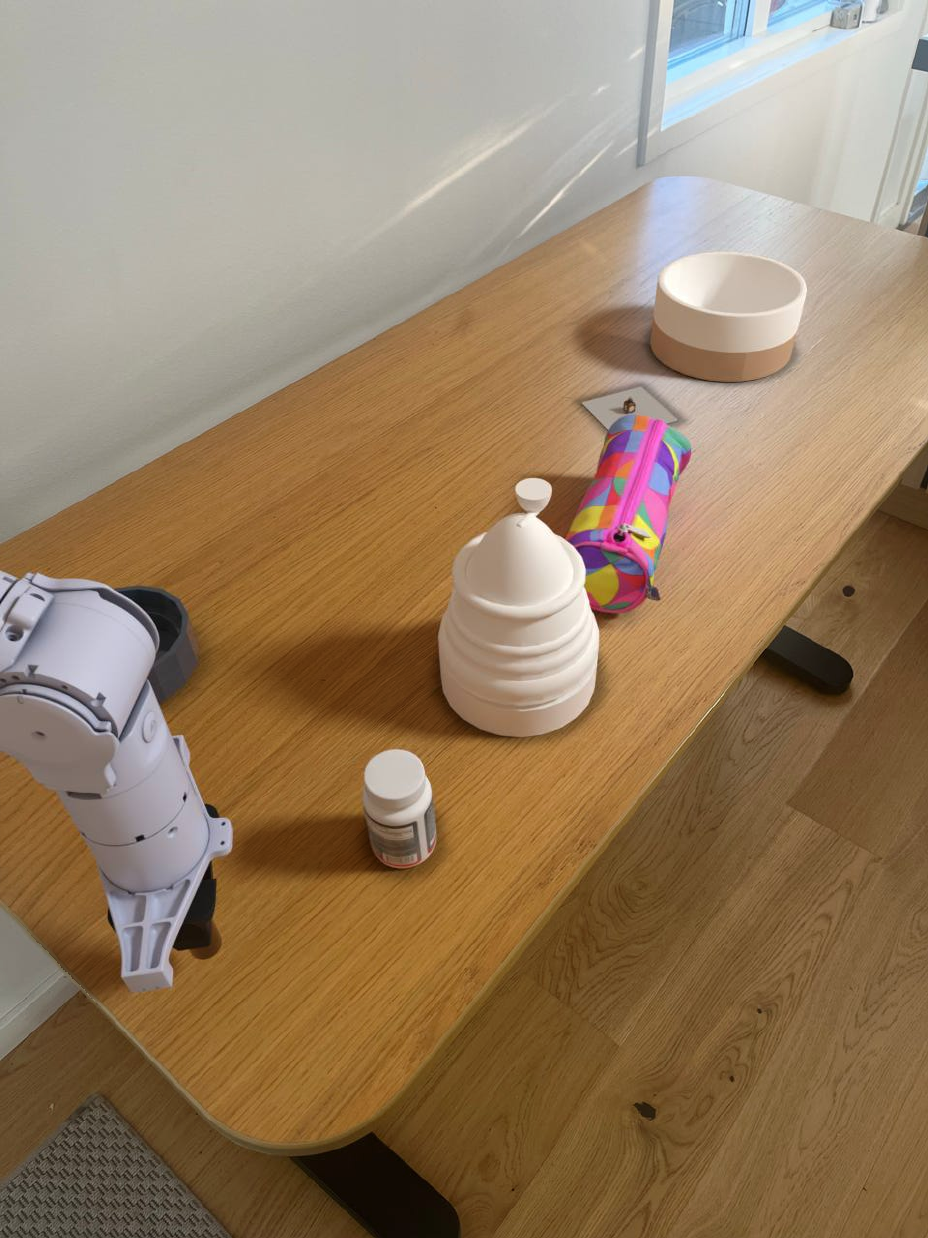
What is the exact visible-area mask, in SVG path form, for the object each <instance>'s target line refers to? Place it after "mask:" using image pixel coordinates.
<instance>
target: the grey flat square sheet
mask: <svg viewBox="0 0 928 1238" xmlns="http://www.w3.org/2000/svg"><path fill="white" fill-rule="evenodd" d="M581 405H582V406H584V408H585V409H587V410H588V411H589V412H590V414H591V415H593V416H594V418H596V419H597V420H598V422H599V423H601V425H602V426H603V427H604V428H605V429H606V430H607V431H608V430H609V428H610V427H611V426H612V424H613V423H614V422H615V421H616V420H618V419H619V418H621V417H623V416H626V415H642V416H648V417H650V418H652V419H654V420H657V419H659V420H662V421H663V423H665V424H667V425H668V424H670V423H674V422H678V421H679V419H678V418H676V417H675V416H674V414H672V413H671V412H670V411H669V410H667V408H665V406H664V405H662V404H661V403H660V402H659V401H658V400H657V399H655V398H654V397H653V396H652V395H651V394H650V393H649V392H648V391H646V389H644V387H642V386H637V387H633V388H630V389H627V390H623V391H619V392H616V393H611V394H608V395H605V396H600V397H597V398H593V399H590V400H585V401H582V402H581Z"/></svg>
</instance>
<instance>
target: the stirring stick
mask: <svg viewBox="0 0 928 1238" xmlns="http://www.w3.org/2000/svg"><path fill="white" fill-rule="evenodd" d="M211 923H212V938H211V945H210V946H208V947H202V948H195V949H189V953H190V954H191V956H192V957H193V958H195V959H197V960H200V961H202V960H203V961H204V960H208V959H211V958H213V957H215V956H216V955H217V954H218V953H219V951H220V950H221V947H222V943H223V939H222V936H221V933H220V931H219V930H218V927H217V925H216V923H215V920H214V917H213V918H212V919H211Z"/></svg>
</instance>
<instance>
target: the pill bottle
mask: <svg viewBox="0 0 928 1238" xmlns="http://www.w3.org/2000/svg"><path fill="white" fill-rule="evenodd" d="M363 783H364V785H363V788H362V792H361V798H362V799H361V801H362V809H363V813H364V817H365V820H366V826H367V831H368V836H369V841H370V846H371V849H372V851H373V853H374V855H375V857H376V858H377V859H378V860H379V861H380V862H381V863H383V864H384V865H386V866H388V867H391V868H394V869H409V868H413V867H415V866H417V865H420V864H421V863H423V862H424V861H426V860H427V859H428V858H429V857H430V856H431V854H432V853H433V852H434V849H435V847H436V844H437V838H438V837H437V826H436V825H437V824H436V817H435V816H436V815H435V805H434V797H433V795H434V794H433V789H432V785H431V782H430V779H429V778H428V777H427V775H426V772H425V766H424V764H423V762H422V761H421V759H420V758H419V757H418V756H417V755H416V754H414V753H413V752H411V751H408V750H405V749H401V748H400V749H399V748H397V749H394V748H393V749H387V750H384V751H381V752H379V753H377V754H376V755H374V756H373V757H372V758H371V759H370V760H369V761H368V762H367V764H366V766H365V768H364V771H363Z"/></svg>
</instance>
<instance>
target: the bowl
mask: <svg viewBox="0 0 928 1238" xmlns="http://www.w3.org/2000/svg"><path fill="white" fill-rule="evenodd" d="M807 294H808V289H807V283H806V281H805V279H804V278H803V276H802V275H801V274H800V273H799V272H798V271H796V270H795V269H793V268H792V267H790V266H789V265H787V264H785V263H783V262H780V261H778V260H775V259H773V258H769V257H767V256H762V255H758V254H754V253H748V252H747V253H746V252H739V251H708V252H707V251H706V252H699V253H693V254H689V255H685V256H682V257H680V258H676V259H675V260H673V261H671V262H669V263H667V264H666V265H665V266H664V267H663V268H662V269H661V270H660V273H659V274H658V276H657V283H656V290H655V297H654V298H655V299H654V308H653V315H652V316H653V317H652V325H651V335H650V342H649V344H650V347H651V351H652V353H653V355H654V356H655V357H656V358H657V359H658V360H659V361H660V362H661V363H662V364H663V365H664V366H666V367H668V368H669V369H671V370H673V371H675V372H678V373H680V374H682V375H685V376H688V377H692V378H695V379H699V380H705V381H709V382H720V383H721V382H722V383H740V382H750V381H755V380H759V379H763V378H767V377H769V376H771V375H774V374H776V373H778V372H779V371H780V370H782V369H783V368H784V367H785V366H786V365H787V364H788V363H789V361H790V359H791V358H792V357H791V356H792V353H793V350H794V345H795V342H796V337H797V333H798V329H799V326H800V322H801V319H802V315H803V310H804V306H805V302H806V298H807Z"/></svg>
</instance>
